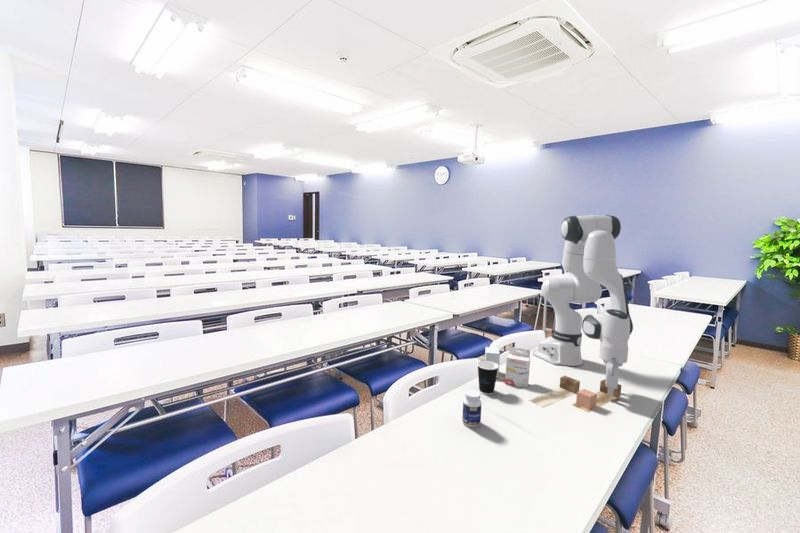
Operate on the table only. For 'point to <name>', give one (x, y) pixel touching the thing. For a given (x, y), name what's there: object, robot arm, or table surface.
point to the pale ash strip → (558, 392)
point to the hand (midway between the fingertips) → (610, 390)
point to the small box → (492, 356)
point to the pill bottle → (471, 409)
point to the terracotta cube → (586, 399)
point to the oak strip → (603, 396)
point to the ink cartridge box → (517, 367)
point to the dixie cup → (487, 376)
